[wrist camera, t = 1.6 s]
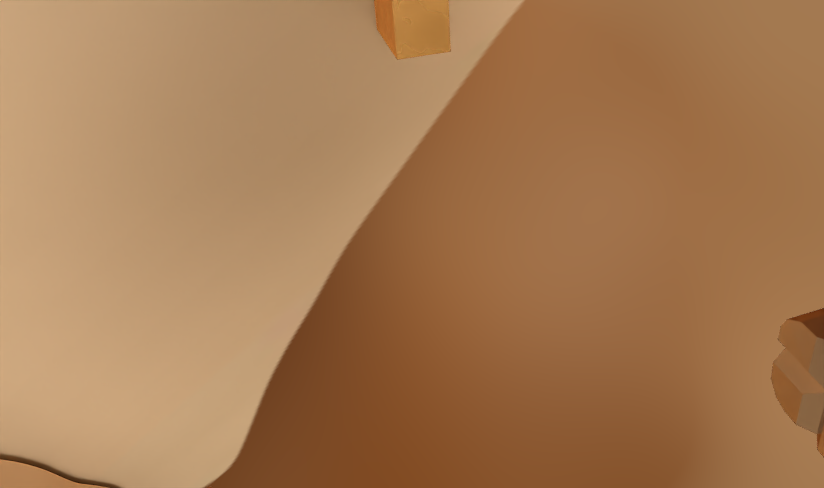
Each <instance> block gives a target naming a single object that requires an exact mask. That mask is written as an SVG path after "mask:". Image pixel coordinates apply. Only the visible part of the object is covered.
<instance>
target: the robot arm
mask: <svg viewBox="0 0 824 488" xmlns="http://www.w3.org/2000/svg"><path fill="white" fill-rule="evenodd" d="M778 341H779V342H780V343H781V344H782V345H783V346H784V347H785V349H784V350H783V351H782V352H781V353H780V355H779V356H778V357H777V358H776V359H775V360H774V362H773V367H772V375H771V380H772V384H773V388H774V391H775V395H776V398H777V399H778V401H779V403H780V405H781V406H782V408H783V410H784V411H785V412H786V414H787V415H788V416H789V417H790V418H791V420H792V421H793V422H794V423H795V424H796V425H798V426H800V427H802V428H804V429H806V430H809V431H811V432H813V433H816V434H817V450H818V451H819V452H820V454H821V455H822V456H823V457H824V308H822V309H819V310H816V311H812V312H809V313H806V314H802V315H799V316H796V317H792V318H789V319H787V320H786V321H785V322H784V323H783V324H782V325H781V327H780V331H779V335H778ZM0 488H108V487H102V486H96V485H88V484H80V483H76V482H73V481H70V480H67V479H65V478H63V477H60V476H58V475H56V474H54V473H51V472H49V471H46V470H44V469H41V468H38V467H35V466H31V465H28V464H24V463H19V462H14V461H8V460H0ZM205 488H212V487H205Z"/></svg>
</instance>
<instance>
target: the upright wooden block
mask: <svg viewBox="0 0 824 488" xmlns="http://www.w3.org/2000/svg"><path fill="white" fill-rule="evenodd" d="M374 4H375V14H376V24H377V30H378V31H379V33H380V34H381V36H382V38H383V39H384V41H385V42H386V44H387V45H388V47H389V48H390V50H391V51H392V53H393V54H394V56H395V57H396V59H397V60H398V59H404V58H411V57H417V56H424V55H431V54H437V53H444V52H450V51H451V49H450V27H449V5H448V0H374Z"/></svg>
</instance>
